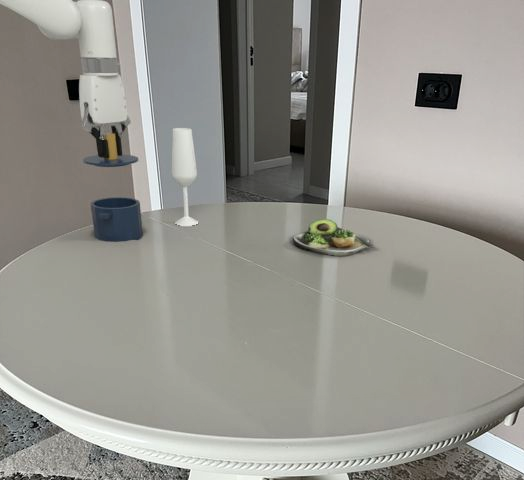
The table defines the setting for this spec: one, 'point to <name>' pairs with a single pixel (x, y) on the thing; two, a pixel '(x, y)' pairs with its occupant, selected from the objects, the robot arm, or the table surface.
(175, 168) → the champagne flute
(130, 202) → the pot
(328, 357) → the table surface
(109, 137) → the lid
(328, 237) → the salad plate
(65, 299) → the table surface
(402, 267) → the table surface
